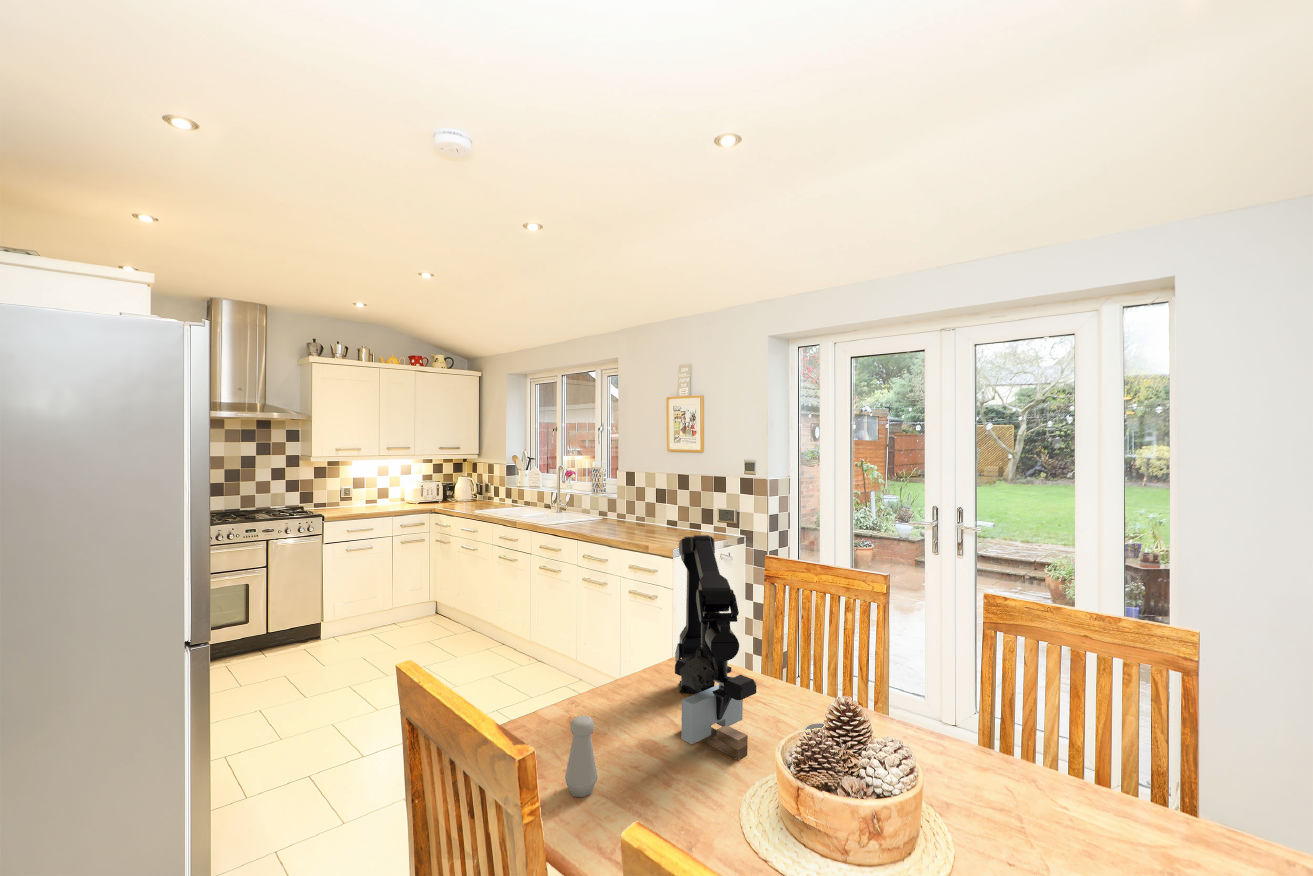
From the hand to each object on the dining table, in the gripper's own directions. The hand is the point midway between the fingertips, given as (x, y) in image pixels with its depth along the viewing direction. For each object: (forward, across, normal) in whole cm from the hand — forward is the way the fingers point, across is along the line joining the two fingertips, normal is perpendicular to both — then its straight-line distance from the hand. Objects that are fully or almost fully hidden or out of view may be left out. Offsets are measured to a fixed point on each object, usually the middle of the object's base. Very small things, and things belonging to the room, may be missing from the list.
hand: (713, 716), depth 124 cm
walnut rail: (+5, 0, 0) cm, 5 cm away
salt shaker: (+6, -4, -31) cm, 32 cm away
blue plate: (+2, 0, 0) cm, 3 cm away
